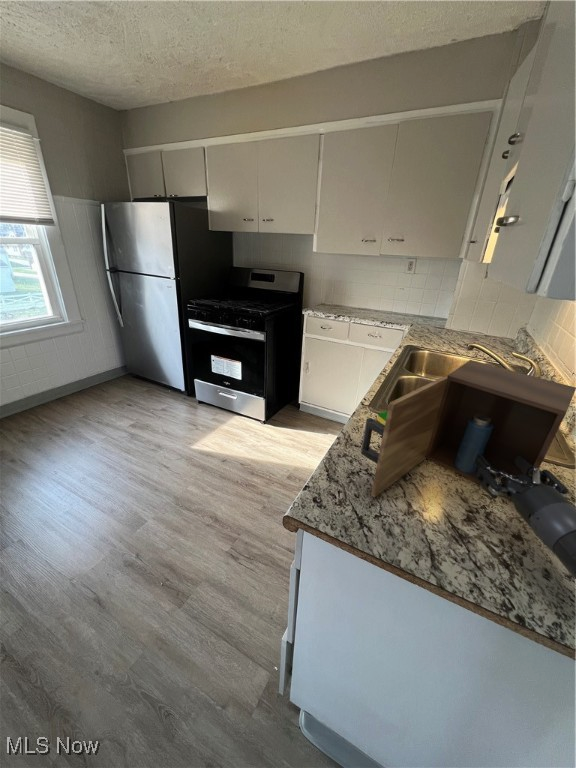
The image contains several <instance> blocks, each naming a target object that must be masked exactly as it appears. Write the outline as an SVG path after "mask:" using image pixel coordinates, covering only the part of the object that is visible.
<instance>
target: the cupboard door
mask: <svg viewBox="0 0 576 768" xmlns="http://www.w3.org/2000/svg"><path fill="white" fill-rule="evenodd" d="M447 380H448V377H447V376H445V375H444V376H441V377H439V378H437V379H435V380H433V381H431V382H429V383H427V384H425V385H423V386H421V387H419V388H417V389H415V390H412V391H410V392H408V393H407V394H405V395H402V396H400V397H398V398H396V399H394V400H392V401H390V402H389V404H388V408H387V411H388V413H387V418H386V423H385V425H383V424H381V423H380V422H379V421H378V420H377V419H376V420H375V419H374V418H372V417H368V418H366V421H365V427H364V433H363V437H362V444H361V450H360V454H361V455H362V456H364V457H365V458H367V459H368V460H370V461H372V462H373V463H375V464H376V468H375V472H374V478H373V483H372V488H371V492H370V496H371V497H372V498H377V496H379V495H380V494H382V492H384V491H386V490H387V489H388V488H389V487H391V486H392V485H393V484H394V483H396V482H398V480H400V479H401V478H403V477H404V476H405V475H406V474H408V473H409V472H410V471H412V470H413V469H415V468H416V467H417V466H418V465H419V464H421V463H422V462H423V461H425V460H426V458H425V457H426V454H427V450H428V447H429V443H430V439H431V436H432V432H433V429H434V425H435V422H436V418H437V415H438V411H439V408H440V404H441V401H442V397H443V394H444V390H445V387H446V383H447ZM373 432H374V433H377V434H379V435H380V436H382V438H381V444H380V448H379V452H378V451H376V450H374V449H373V448H371V447H370V445H371V439H372V434H373Z"/></svg>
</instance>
